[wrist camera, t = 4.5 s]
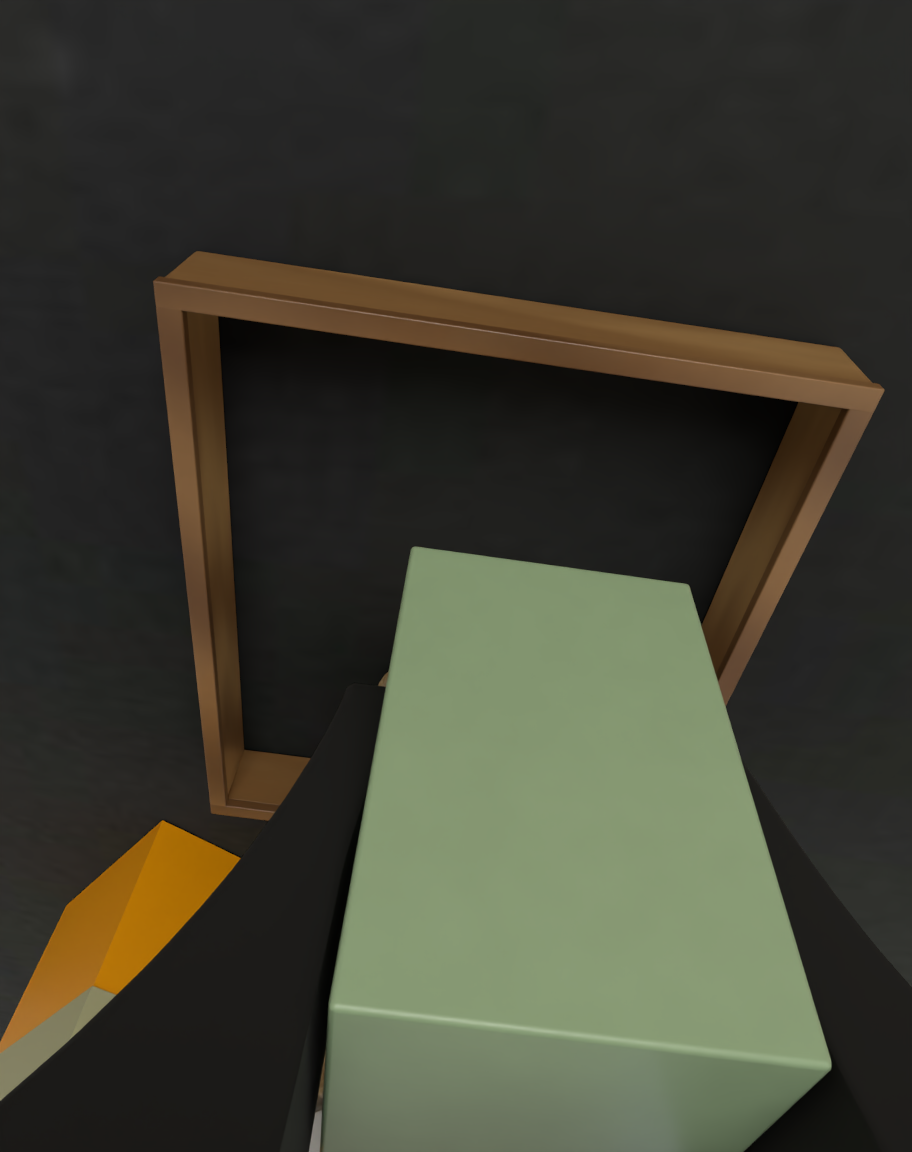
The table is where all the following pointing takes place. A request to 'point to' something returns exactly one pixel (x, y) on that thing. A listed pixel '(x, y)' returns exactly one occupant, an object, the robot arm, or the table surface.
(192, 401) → the wooden frame
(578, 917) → the block
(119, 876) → the orange juice
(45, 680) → the table surface
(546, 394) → the table surface
